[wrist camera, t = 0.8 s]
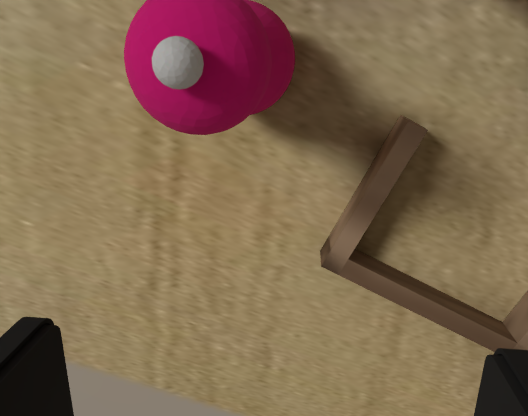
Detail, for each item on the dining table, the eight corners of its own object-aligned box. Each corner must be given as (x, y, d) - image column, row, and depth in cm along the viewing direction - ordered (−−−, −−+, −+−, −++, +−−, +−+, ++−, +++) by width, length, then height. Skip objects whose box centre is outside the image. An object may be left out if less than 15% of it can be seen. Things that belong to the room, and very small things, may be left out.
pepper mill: (307, 94, 34) (304, 141, 16) (216, 119, 36) (111, 191, 17) (282, -8, 32) (244, -96, 14) (187, 23, 34) (30, -19, 15)
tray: (400, 114, 34) (408, 120, 31) (606, 221, 35) (631, 236, 33) (320, 250, 38) (321, 266, 35) (506, 343, 39) (522, 365, 37)
